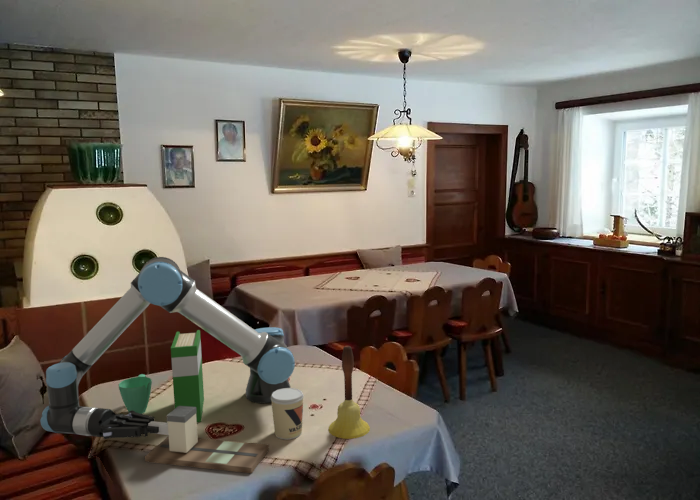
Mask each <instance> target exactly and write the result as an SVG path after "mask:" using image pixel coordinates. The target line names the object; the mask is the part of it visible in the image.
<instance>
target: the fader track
mask: <svg viewBox="0 0 700 500" xmlns="http://www.w3.org/2000/svg"><path fill="white" fill-rule="evenodd" d="M269 451H270V444H265V443H256V442H255V443H254V442H244V441H236V440H235V441H233V440H224V439H213V438H204V437H203V438H202V437H198V442H197V443H196V444H195V445H194V446H193V447H192V448H191V449H190V450H189V451H188V452H187V453H184V452H175V451H170V449H169V435H167V437H166V438H164V439H163V440H162V441H161V442H160V443H158V444H157V445H156V446H155V447H154V448H152V449H151V451H149V452H148V453H147V454H146V455H145V456H144V462H145V463H153V464H154V463H155V464H163V465H170V466H171V465H172V466H180V467H181V466H182V467H191V468H200V469H208V470H215V471H217V470H218V471H226V472H228V471H229V472H237V473H246V474H253V472H254V471H255V470H256V468H257V467H258V466H259V464H260V463H261V462H262V461H263V459H264V458H265V456H266V455H267V454H268V452H269Z"/></svg>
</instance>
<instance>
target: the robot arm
mask: <svg viewBox="0 0 700 500" xmlns="http://www.w3.org/2000/svg"><path fill="white" fill-rule="evenodd" d="M196 285H197V284H196V280H195V279H193V278H192V277H191V276H189V275H188V274H186V273H185V272H183V271H182V270H181V268H180V267H179V265H178V264H177V262H176V261H174V260H173V259H171V258H169V257H166V256H165V257H164V256H158V257H157V256H156V257H153V258H151V259H149V260H148V261H147V262H145V263H144V265H143V266H142V268H141V270H140V271H139V272H138V273H137V275H136V276H135V278H133V280H132V281H131V282H130V287H129V288H128V290H127V291H126V292H125V293H124V294H123V295H122V296H121V297H120V299H118V301H116V303H114V305H113V306H112V307H111V308H110V309H109V310H108V311H107V312H106V314H104V316H102V317H101V319H100V320H99V321H98V322H97V323H96V324H95V325H94V326H93V327H92V328H91V329H90V330H89V331H88V332H87V333H86V335H84V337H82V339H81V340H80V341H79V342H78V343H77V344H76V345H75V346H74V347H73V348H72V349H71V350H70V352H69V353H68V354H66V355H65V356H64V357H62V359H61V360H60V361H59V362H58V363H55V364H52V365H51V366H49V367H48V368H46V369H45V370H46V371H45V377H46V379H45V383H46V389H47V390H46V391H47V397H48V398H47V399H48V405H47V406H45V408H44V409H43V410H42V413H41V418H40V425H41V427H42V428H43V430H45V431H47V432H52V433H55V434H72V435H80V436H86V437H90V436H91V437H97V438H103V439H104V440H108V439H118V438H119V439H120V438H122V439H124V438H141V437H142V436H143V437H145V438H146V437H147V438H148V435H149V434H155V435H156V434H158V435H163V436H164V435H166V436H169V434H168V422H163V421H155V416H152V415H147V414H145V413H143V414H140V413H136V412H135V411H133V410H132V411H129V412H128V414H125V413H124V414H123V413H120V414H119V413H118V414H117V413H115V412H114V410H112V409H111V408H103V407H92V406H81V405H80V399H79V398H80V397H79V384H80V382H81V380H82V378H83V376H84V375H85V374H86V373H87V372H88V371H89V369H91V368H92V366H93V365H94V364H95V363H96V362H97V361H98V360H99V359H100V357H102V355H104V354H105V352H107V350H108V349H109V348H110V347H111V345H113V344H114V343H115V342H116V341H117V339H118V338H119V337H120V336H121V335H122V334H124V332H125V331H126V330H127V329H128V328H129V326H131V324H133V322H134V321H135V320H136V319H137V318H138V317H139V316H140V315H141V314H142V313H143V312H144V311H145V310H146V309H147V308H148V307H149V305H150V304H151V305H155V306H159V307H161V308H162V309H164V311H166V312H167V313H170V314H171V313H172V314H173V313H179V314H180V315H182V316H184V317H185V318H186V319H187V320H189V321H191V323H193V324H195V325H196V326H197V327H199V328H201V329H202V330H204V331H205V332H206V333H208V334H209V335H211V336H212V337H213V338H215V339H216V340H218V341H220V342H221V343H222V344H224V345H225V346H227V347H228V348H230V349H231V350H232V351H233V352H235V353H237V354H238V355H240V356H241V358H242V363H243V364H244V365H245V366H246V367H248V368H249V377H248V381H247V384H246V388H245V398H246V399H247V400H248V401H250V402H253V403H256V404H272V401H271V395H272V393H273V392H274V391H276V390H279V389H283V388H291V385H290V382H289V378H290V377H291V376H292V374H293V373H294V370H295V366H296V361H295V357H294V355H293V352H292V350H290V349H289V348H288V346H287V344H286V343H285V342H284V341H285V339H284V337H285V334H284V330H283V328H280V327H275V326H274V327H272V326H271V327H260V328H256V329H254V328H252V326H249V325H248V324H247V323H245V322H244V321H243V320H242V319H240V318H238V317H237V316H236V315H234V314H233V313H231V312H230V311H229V310H228V309H226V308H225V307H224V306H222V305H220V304H219V303H217V302H216V301H215V300H214V299H212V298H211V297H210V296H208V295H207V294H205V293H204V292H203V291H201V290H199V289H198V288H197V286H196Z"/></svg>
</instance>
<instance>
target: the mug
mask: <svg viewBox="0 0 700 500" xmlns="http://www.w3.org/2000/svg"><path fill="white" fill-rule="evenodd" d="M152 382H153V380H152V378H151V377H148V376H146V374H143V373H141V374H139V375H138V376H135V377H134V376H133V377H130V378H126V379H124V380H122V381H120V382H119V383H118V390H119V393H120V396H121V399H122V402H123V404H124V406H125V409H126V410H127V412H128V413H129V411H132V410H133V411H135V412H136V413H140V414H145V413H146V411H147V407H148V406H149V405H148V404H149V401H150V397H151V391H152Z"/></svg>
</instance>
